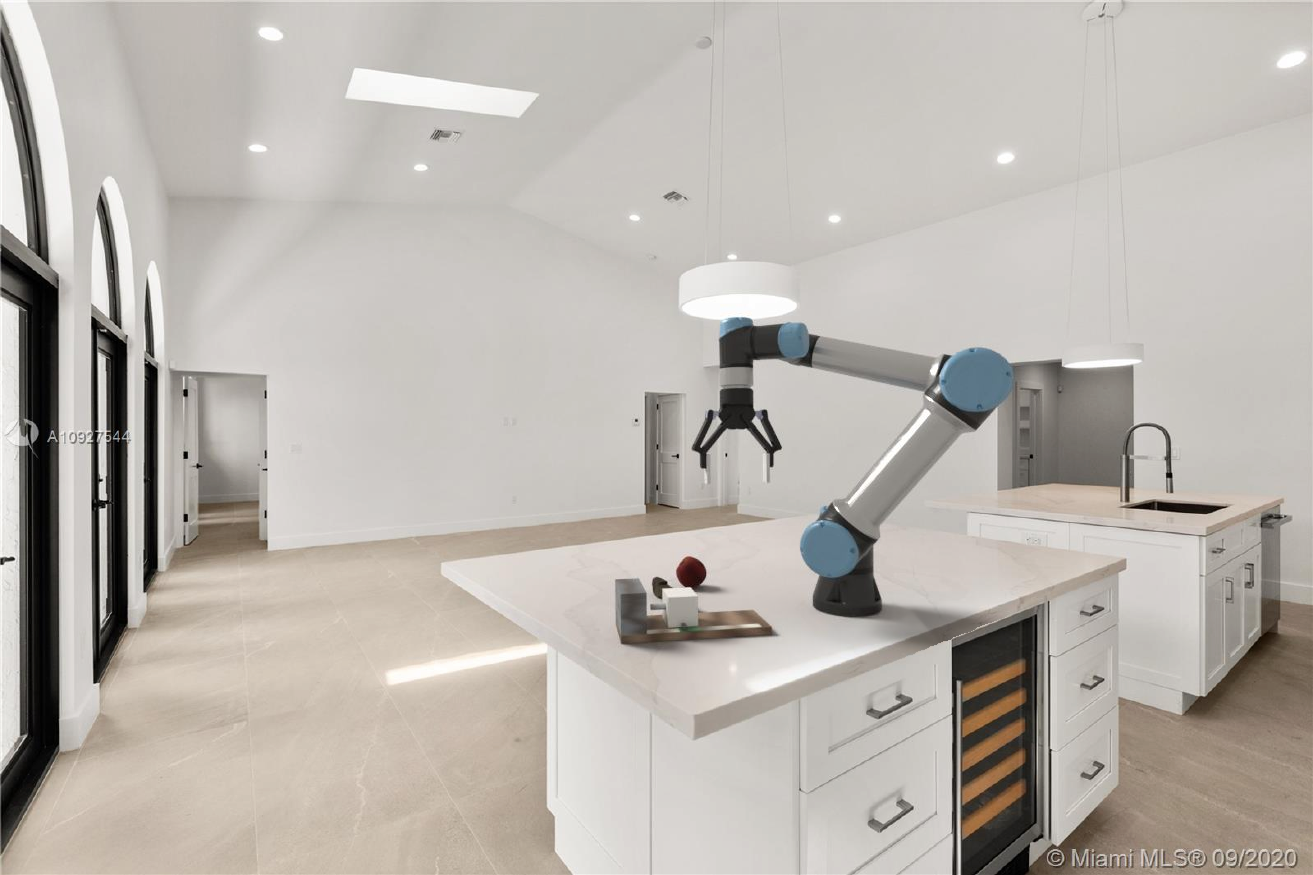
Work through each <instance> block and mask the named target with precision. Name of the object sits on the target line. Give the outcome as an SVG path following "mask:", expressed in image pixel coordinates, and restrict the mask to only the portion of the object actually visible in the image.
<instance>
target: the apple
mask: <svg viewBox="0 0 1313 875" xmlns="http://www.w3.org/2000/svg"><path fill="white" fill-rule="evenodd" d="M706 568H707V567H705V565H704V563H703V562H702V561H701V560H700V559H698V558H696V557H693V556H689V555H687V556H685V557H683V559H682V560H681V561H680V563H679V564H678V566H677V567H676V569H675V570H676V571H675V575H676V578H677V581H678V582H679V583H680V585H682V587H683V588H687V587H691V588H692V589H694V588H697V587H700V586H701V585H702V584H703V583H704V582H705V580H706V578H707V569H706Z"/></svg>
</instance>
